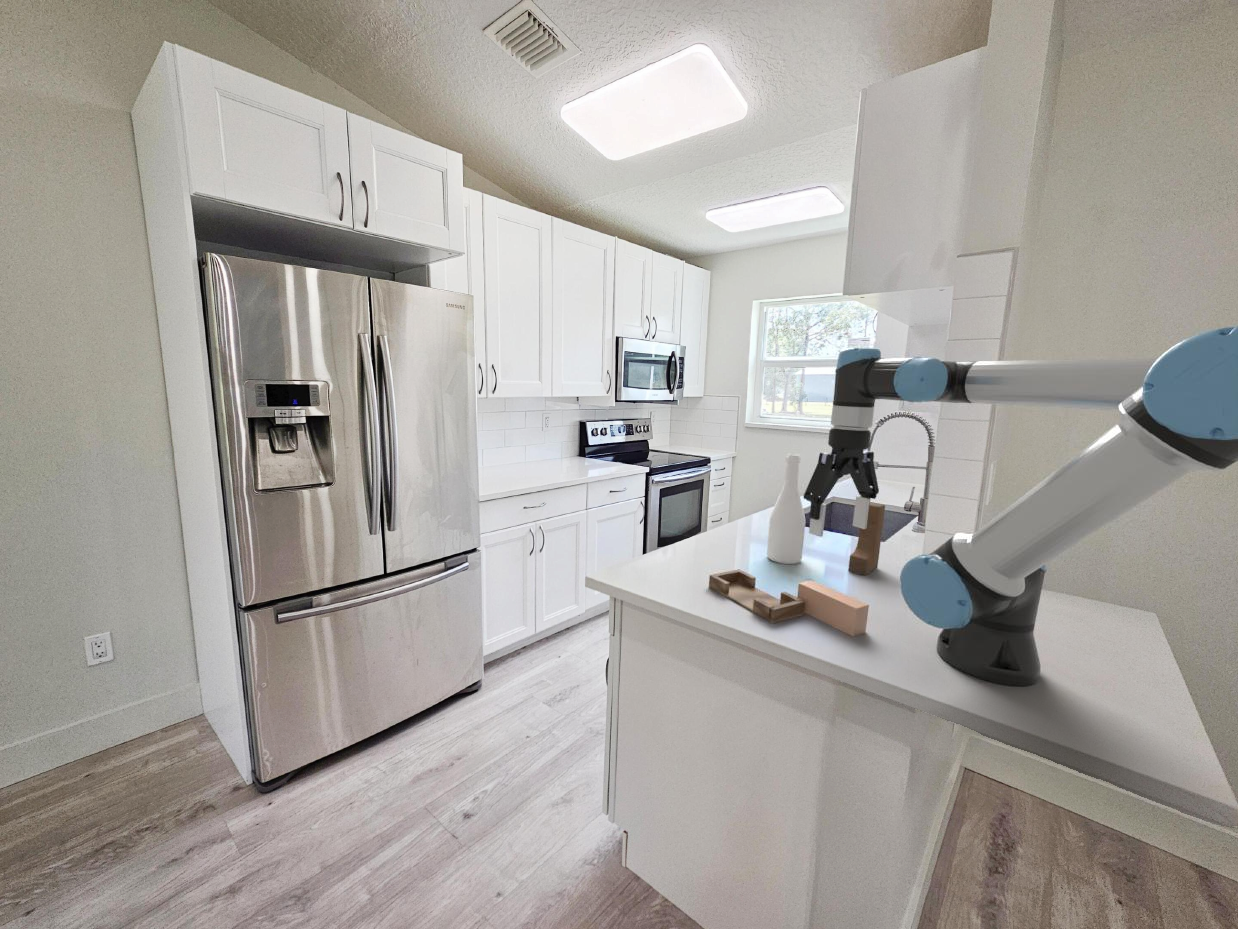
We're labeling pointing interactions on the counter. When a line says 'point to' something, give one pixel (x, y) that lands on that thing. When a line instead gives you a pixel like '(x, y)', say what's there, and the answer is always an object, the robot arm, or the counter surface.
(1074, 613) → the counter surface
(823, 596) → the peach rectangular block
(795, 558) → the wine bottle
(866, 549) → the wooden block
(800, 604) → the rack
